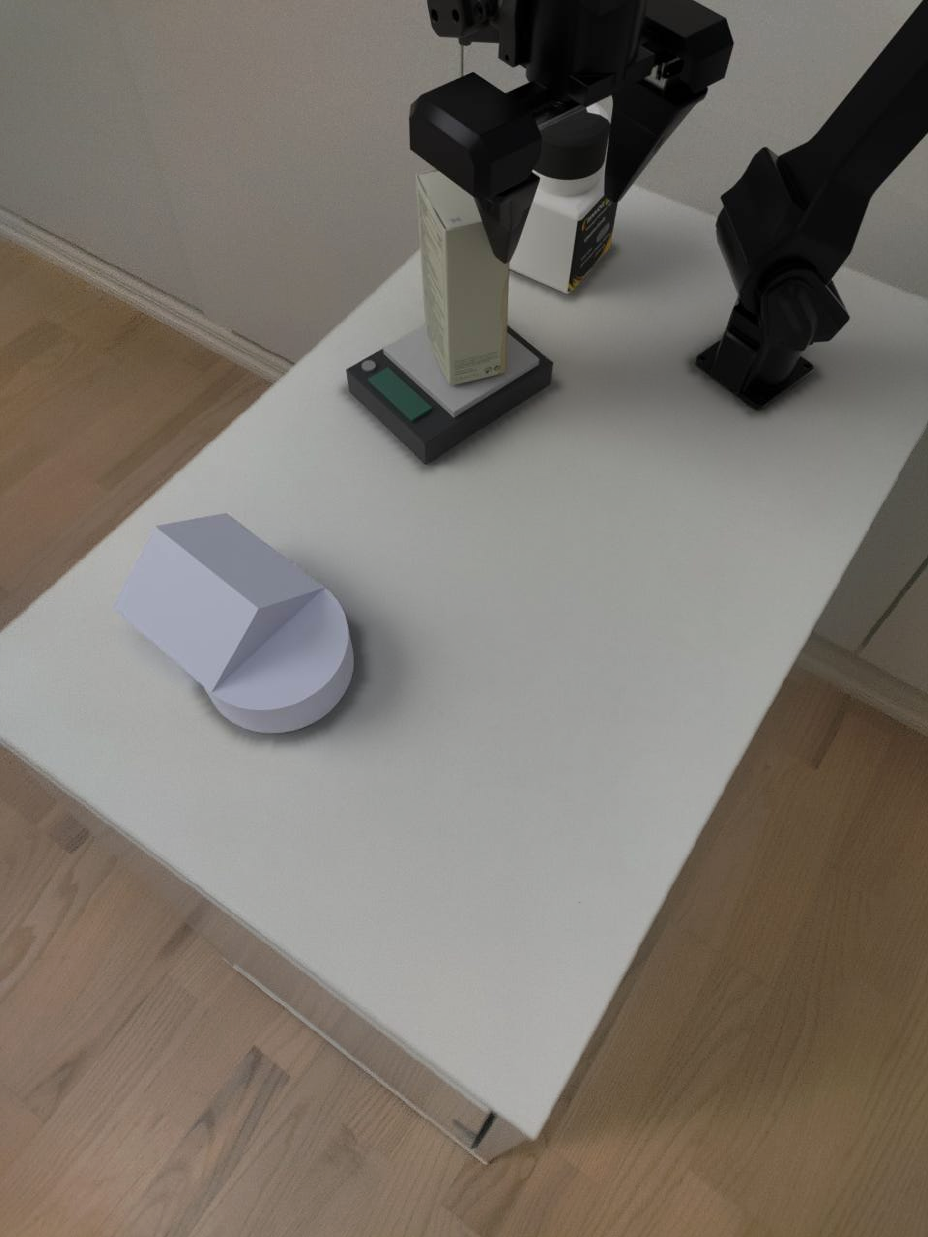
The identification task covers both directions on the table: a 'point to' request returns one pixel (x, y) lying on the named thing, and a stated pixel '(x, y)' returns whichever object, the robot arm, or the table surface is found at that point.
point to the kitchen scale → (442, 391)
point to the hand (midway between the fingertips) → (558, 228)
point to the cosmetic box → (460, 282)
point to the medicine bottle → (568, 203)
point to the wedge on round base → (241, 623)
